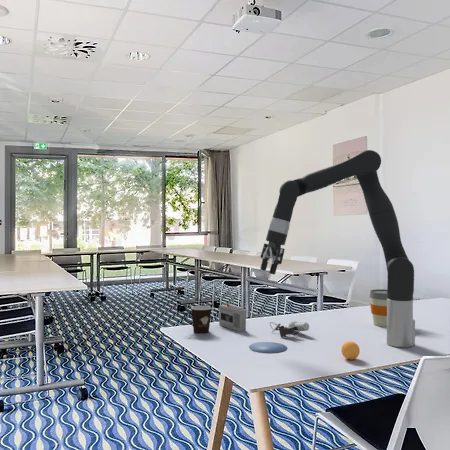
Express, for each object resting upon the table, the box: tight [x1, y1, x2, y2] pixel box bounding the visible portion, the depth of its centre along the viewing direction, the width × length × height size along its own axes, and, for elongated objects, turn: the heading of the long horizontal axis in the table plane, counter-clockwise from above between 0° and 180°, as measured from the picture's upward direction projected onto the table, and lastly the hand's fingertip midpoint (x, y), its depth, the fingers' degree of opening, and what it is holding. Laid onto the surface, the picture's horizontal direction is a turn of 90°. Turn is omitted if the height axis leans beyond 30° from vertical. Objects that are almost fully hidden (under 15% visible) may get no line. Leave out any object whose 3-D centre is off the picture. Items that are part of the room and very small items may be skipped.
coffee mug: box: [182, 305, 212, 334], centre depth 192 cm, size 12×9×10 cm
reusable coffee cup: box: [369, 288, 387, 328], centre depth 205 cm, size 12×13×15 cm
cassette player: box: [218, 303, 247, 333], centre depth 199 cm, size 16×3×10 cm, turn 36°
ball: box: [340, 340, 361, 360], centre depth 155 cm, size 6×6×6 cm
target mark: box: [248, 341, 288, 354], centre depth 168 cm, size 14×14×1 cm
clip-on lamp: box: [269, 320, 310, 338], centre depth 189 cm, size 12×6×18 cm
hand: (267, 272), depth 176 cm, fingers open, 8 cm apart
